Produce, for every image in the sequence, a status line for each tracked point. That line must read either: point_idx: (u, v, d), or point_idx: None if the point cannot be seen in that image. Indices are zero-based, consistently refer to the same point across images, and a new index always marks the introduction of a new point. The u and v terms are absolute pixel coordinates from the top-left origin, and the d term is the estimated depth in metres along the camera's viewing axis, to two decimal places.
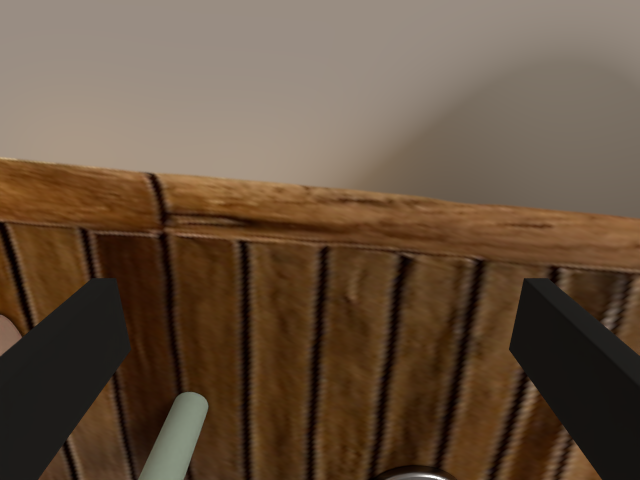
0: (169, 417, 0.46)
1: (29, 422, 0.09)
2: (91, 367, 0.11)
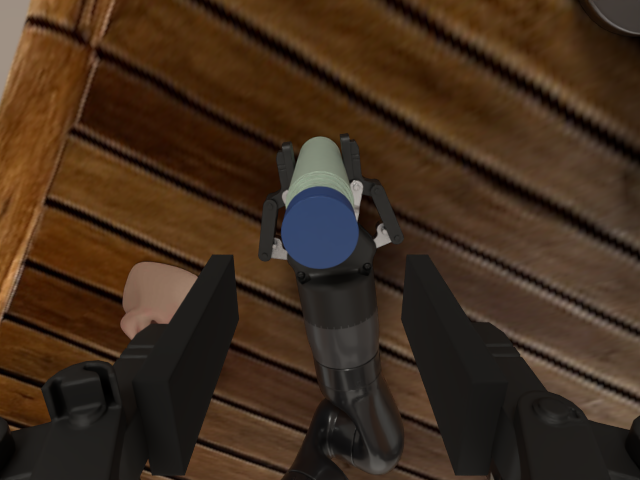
0: None
1: (202, 366, 0.10)
2: (224, 329, 0.13)
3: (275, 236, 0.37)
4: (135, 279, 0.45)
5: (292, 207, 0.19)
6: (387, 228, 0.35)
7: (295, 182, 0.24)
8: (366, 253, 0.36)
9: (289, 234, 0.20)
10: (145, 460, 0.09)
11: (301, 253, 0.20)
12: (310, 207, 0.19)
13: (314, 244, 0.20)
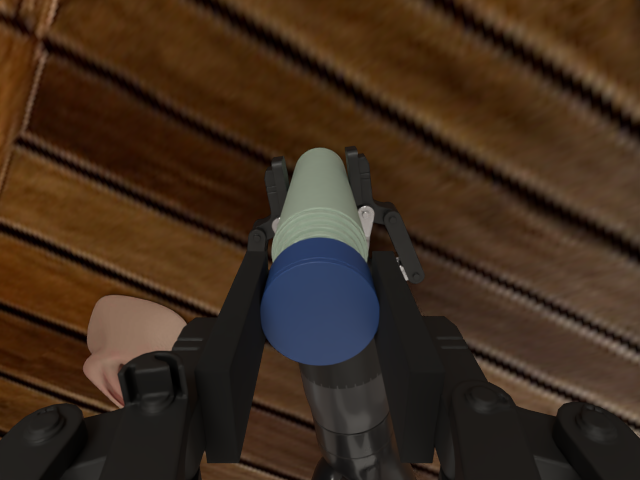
0: None
1: (249, 358, 0.11)
2: None
3: None
4: (100, 316, 0.38)
5: (276, 277, 0.12)
6: (404, 264, 0.28)
7: (285, 223, 0.17)
8: None
9: (272, 317, 0.13)
10: (203, 448, 0.09)
11: (291, 344, 0.13)
12: (304, 278, 0.12)
13: (310, 331, 0.13)
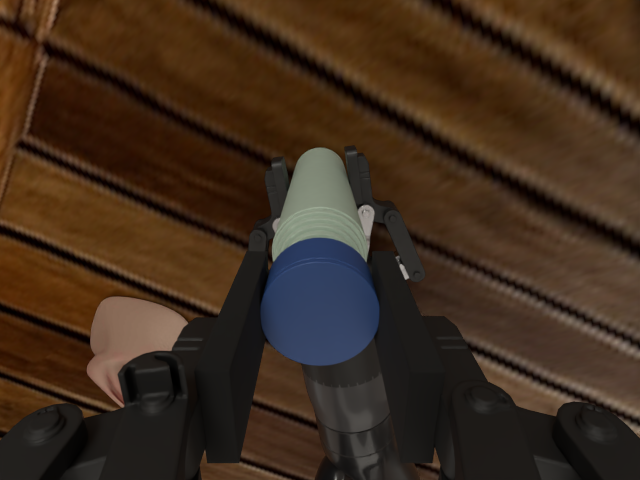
0: None
1: (249, 358, 0.11)
2: None
3: None
4: (103, 317, 0.38)
5: (321, 363, 0.14)
6: (405, 263, 0.28)
7: (284, 222, 0.17)
8: None
9: (354, 343, 0.13)
10: (203, 447, 0.09)
11: (364, 313, 0.13)
12: (301, 351, 0.13)
13: (338, 311, 0.13)
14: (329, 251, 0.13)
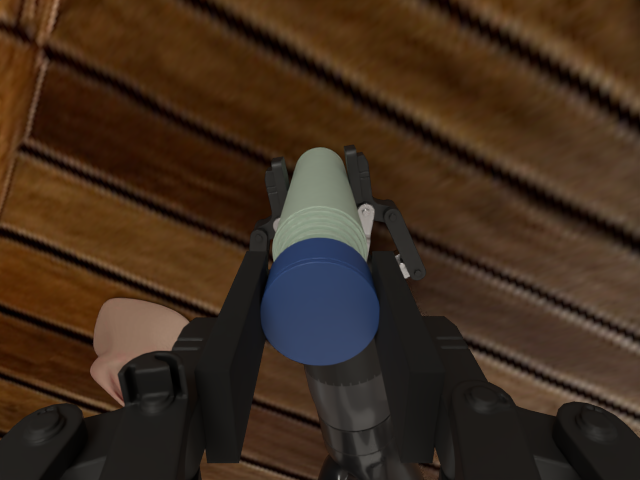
0: None
1: (249, 358, 0.11)
2: None
3: None
4: (106, 319, 0.38)
5: (360, 275, 0.12)
6: (405, 261, 0.28)
7: (284, 222, 0.17)
8: None
9: (315, 274, 0.12)
10: (203, 448, 0.09)
11: (284, 293, 0.12)
12: (362, 301, 0.13)
13: (302, 310, 0.13)
14: None
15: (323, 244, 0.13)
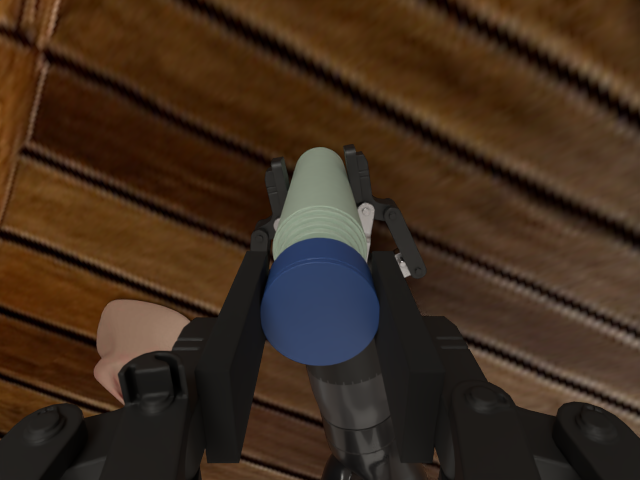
0: None
1: (249, 358, 0.11)
2: None
3: (268, 272, 0.30)
4: (109, 320, 0.38)
5: (261, 321, 0.13)
6: (406, 260, 0.28)
7: (284, 222, 0.17)
8: None
9: (291, 348, 0.13)
10: (203, 448, 0.09)
11: (327, 353, 0.13)
12: (276, 303, 0.13)
13: (327, 332, 0.13)
14: None
15: None
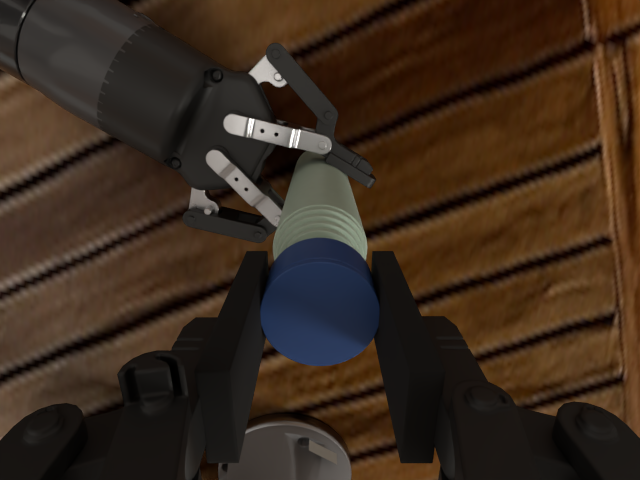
0: None
1: (249, 358, 0.11)
2: None
3: (287, 83, 0.25)
4: None
5: (261, 320, 0.13)
6: (209, 217, 0.27)
7: (366, 246, 0.18)
8: (193, 175, 0.26)
9: (291, 348, 0.13)
10: (203, 447, 0.09)
11: (326, 353, 0.13)
12: (276, 303, 0.13)
13: (327, 332, 0.13)
14: None
15: None
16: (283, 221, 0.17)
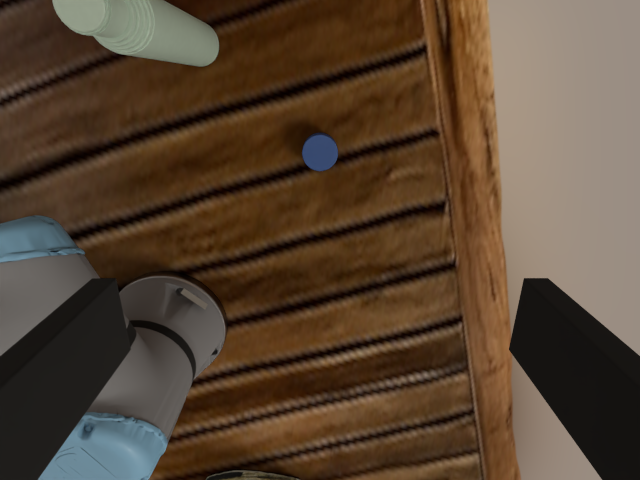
0: (198, 19, 0.37)
1: (29, 422, 0.09)
2: (91, 367, 0.11)
3: None
4: None
5: (302, 154, 0.44)
6: None
7: (152, 17, 0.25)
8: None
9: (311, 164, 0.44)
10: None
11: (322, 166, 0.44)
12: (307, 148, 0.43)
13: (322, 158, 0.44)
14: None
15: None
16: None
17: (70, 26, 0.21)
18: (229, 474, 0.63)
